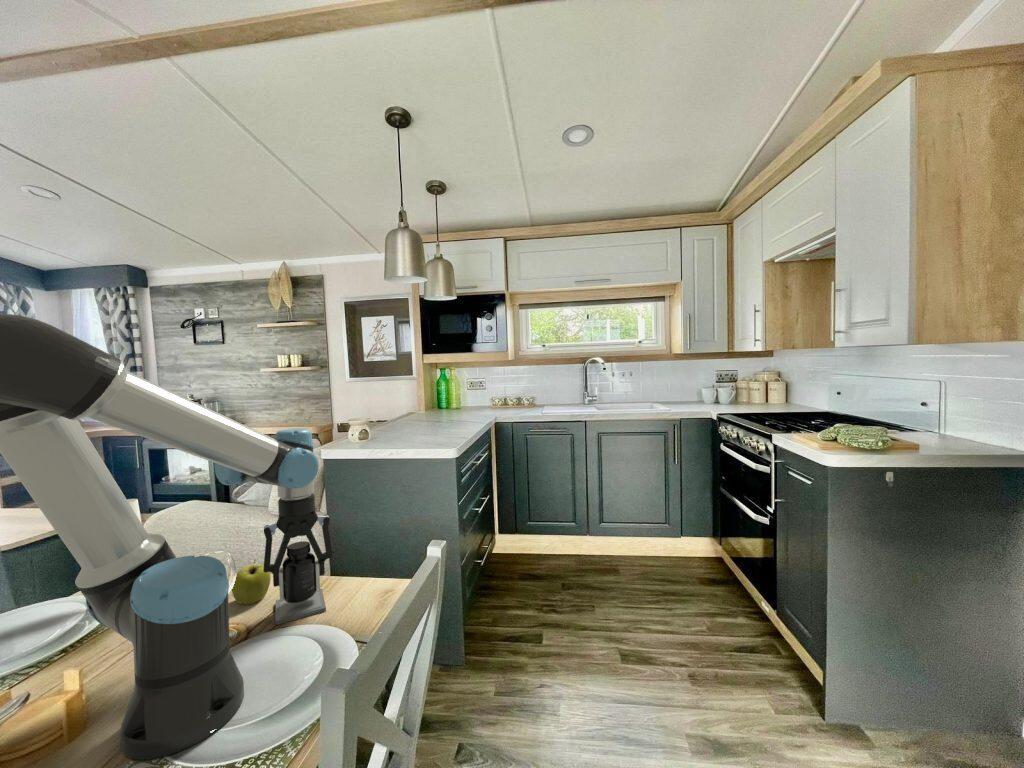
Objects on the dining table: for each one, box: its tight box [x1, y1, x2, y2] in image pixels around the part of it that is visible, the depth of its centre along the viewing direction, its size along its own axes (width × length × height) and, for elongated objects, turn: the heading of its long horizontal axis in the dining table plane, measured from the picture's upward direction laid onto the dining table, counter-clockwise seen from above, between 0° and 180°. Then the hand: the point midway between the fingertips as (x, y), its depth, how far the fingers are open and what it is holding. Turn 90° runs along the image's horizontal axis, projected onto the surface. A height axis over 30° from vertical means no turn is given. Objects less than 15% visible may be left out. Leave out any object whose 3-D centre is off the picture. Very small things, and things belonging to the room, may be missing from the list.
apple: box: [231, 558, 271, 606], centre depth 99 cm, size 8×8×10 cm
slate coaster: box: [274, 588, 327, 626], centre depth 96 cm, size 10×10×1 cm
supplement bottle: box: [281, 540, 316, 603], centre depth 96 cm, size 7×7×12 cm
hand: (300, 593), depth 96 cm, fingers closed on supplement bottle, 7 cm apart
